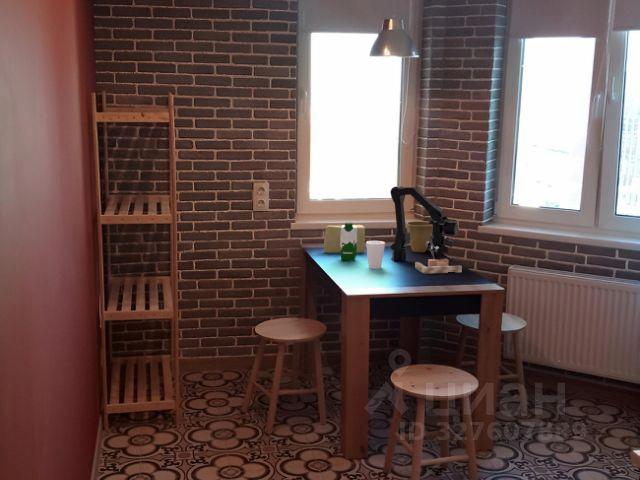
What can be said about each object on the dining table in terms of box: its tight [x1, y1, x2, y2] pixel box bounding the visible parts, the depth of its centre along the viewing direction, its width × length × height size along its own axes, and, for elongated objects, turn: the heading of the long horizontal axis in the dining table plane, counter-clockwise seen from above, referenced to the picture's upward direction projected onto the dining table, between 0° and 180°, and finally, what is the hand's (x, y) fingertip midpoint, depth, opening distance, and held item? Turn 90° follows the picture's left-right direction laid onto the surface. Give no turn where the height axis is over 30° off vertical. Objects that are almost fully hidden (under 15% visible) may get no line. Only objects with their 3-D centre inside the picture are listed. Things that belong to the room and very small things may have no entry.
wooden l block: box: [414, 261, 463, 275], centre depth 390 cm, size 20×13×3 cm, turn 101°
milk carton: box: [340, 222, 357, 262], centre depth 411 cm, size 9×9×20 cm
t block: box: [427, 258, 450, 267], centre depth 395 cm, size 10×10×4 cm
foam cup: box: [365, 240, 386, 270], centre depth 393 cm, size 10×9×13 cm
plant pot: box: [406, 220, 432, 253], centre depth 437 cm, size 15×15×16 cm
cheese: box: [323, 224, 366, 254], centre depth 432 cm, size 22×10×15 cm, turn 99°
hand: (436, 263), depth 401 cm, fingers closed
